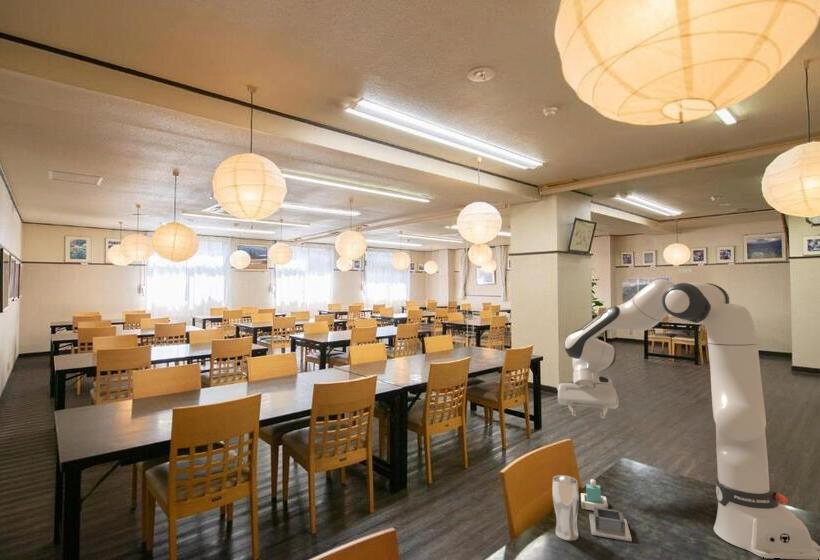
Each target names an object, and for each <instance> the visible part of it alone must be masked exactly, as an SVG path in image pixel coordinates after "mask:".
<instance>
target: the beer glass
mask: <svg viewBox="0 0 820 560" xmlns="http://www.w3.org/2000/svg"><path fill="white" fill-rule="evenodd" d="M551 489H552V494H551V495H552V501H553V503H552V504H553V508H554V513H555V517H556V518H555V519H556V523H555V524H556V525H555V535H556V536H557V537H558V538H559V539H561V540H565V541H567V542H570V541H571V542H572V541H576V540H578V539H579V535H580V534H579V531H578V530H579V529H578V525H577V524H578V523H577V521H578V519H577V518H578V512H579V503H580V501H579V500H580V499H579V497H580V495H579V493H580V492H579V486H578V480H577V479H576V478H575V477H572V476H569V475H565V474H558V475H554V476H553V477H552V488H551Z"/></svg>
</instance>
